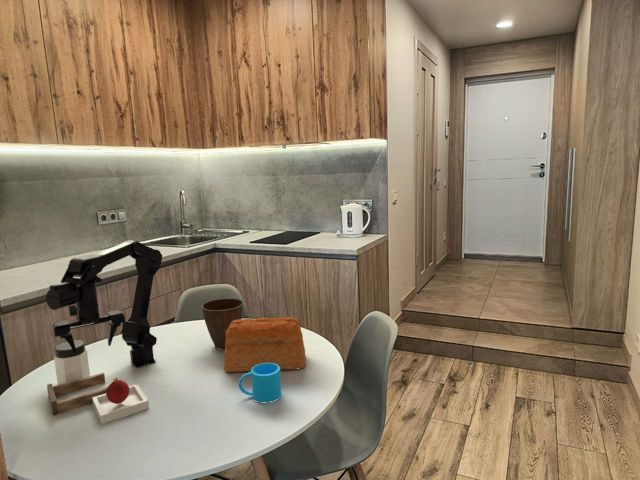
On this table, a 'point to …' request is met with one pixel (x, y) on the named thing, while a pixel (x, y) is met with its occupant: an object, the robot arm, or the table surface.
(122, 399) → the onion
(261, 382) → the mug
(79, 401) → the bay
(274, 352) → the bread
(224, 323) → the plant pot
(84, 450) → the table surface
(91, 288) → the robot arm
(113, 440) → the table surface
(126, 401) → the tray
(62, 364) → the jar
